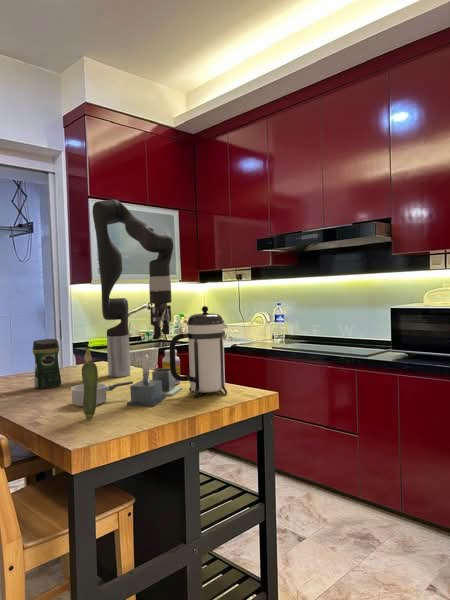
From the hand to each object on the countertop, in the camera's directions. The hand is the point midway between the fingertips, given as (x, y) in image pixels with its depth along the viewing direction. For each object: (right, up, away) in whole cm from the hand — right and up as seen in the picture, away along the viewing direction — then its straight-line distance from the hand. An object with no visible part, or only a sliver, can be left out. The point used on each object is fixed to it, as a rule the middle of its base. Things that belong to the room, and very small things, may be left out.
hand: (162, 335), depth 153 cm
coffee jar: (-47, -21, +17) cm, 54 cm away
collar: (+1, -19, 0) cm, 19 cm away
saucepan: (-18, -21, -10) cm, 29 cm away
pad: (+1, -20, 0) cm, 20 cm away
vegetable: (-16, -21, -29) cm, 39 cm away
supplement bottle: (+2, -20, +14) cm, 25 cm away
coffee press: (+15, -20, -4) cm, 25 cm away
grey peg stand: (-3, -20, -12) cm, 24 cm away
